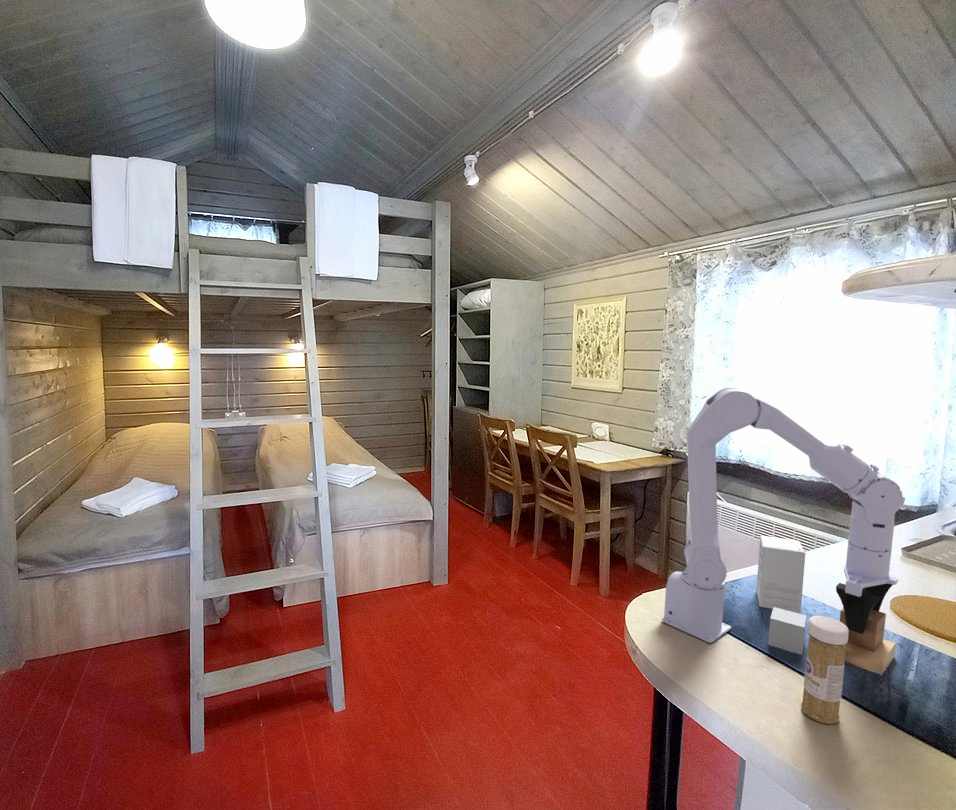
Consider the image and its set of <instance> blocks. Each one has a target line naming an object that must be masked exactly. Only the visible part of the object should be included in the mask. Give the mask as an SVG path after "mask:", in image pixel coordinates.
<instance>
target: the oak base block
mask: <svg viewBox="0 0 956 810" xmlns="http://www.w3.org/2000/svg"><path fill="white" fill-rule="evenodd" d="M896 643H897V642H895V641H892V640H891V641H890V640H888V639H886V638H883V642H882V644H881V645H880V646H879V647H878V648H877V649H876V650H875V652H872V651H869V650H867V649H864V648H862V647H859V646H856V645H854V644H851V643H848V642H847V643H846V647H845V658H844V662H845V663H848V664H850V665H853V666H856V667H858V668H860V667H861V669H863V670H865V669H866V671H868V670H869V671H868V672H871V671H873V672H877V673H880V674H883V672H884V671H885V670H886V671H887V669H888V668H889V666H890V664H891V663H892V661H893V660H894V658H895V652H896V651H895V650H896ZM892 659H893V660H892ZM890 662H891V663H890ZM888 665H889V666H888ZM887 667H888V668H887ZM886 668H887V669H886ZM873 672H872V673H873ZM884 673H885V672H884ZM883 675H884V674H883Z"/></svg>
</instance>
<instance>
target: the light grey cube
mask: <svg viewBox="0 0 956 810" xmlns="http://www.w3.org/2000/svg"><path fill="white" fill-rule="evenodd" d="M806 623H807V614H806V615H805V614H802V613H801V614H799V613H795V612H791V611H788V610H784V609H780V608H776V607H773V609H772V611H771V615H770V618H769V632H768V644H772V645H774V646H777V647H781V648H783V649H786V650H789V651H792V652H791V653H793V652H795V653H794V654H796V653H798V654H797V655H799V654H801V655H800V656H803V653H802V652H803V651H804V646H803V645H804V644H805V635H806ZM768 644H767V645H768ZM783 649H782V650H783ZM786 650H785V651H786ZM789 651H788V652H789Z"/></svg>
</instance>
